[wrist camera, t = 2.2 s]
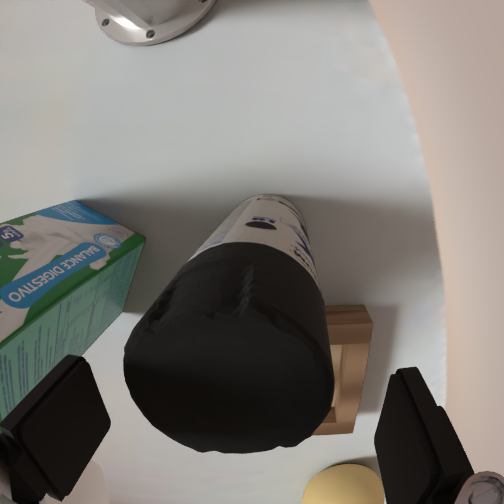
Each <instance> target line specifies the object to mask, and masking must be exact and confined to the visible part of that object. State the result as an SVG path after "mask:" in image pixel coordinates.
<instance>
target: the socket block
mask: <svg viewBox="0 0 504 504" xmlns="http://www.w3.org/2000/svg"><path fill="white" fill-rule="evenodd" d="M325 316H326V322H327V328H328V335H329V342H330V349H331V355H332V363H333V370H334V377H335V389H334V397H333V402H332V406H331V410H330V412H329V413H328V415H327V416H326V418H325V419H324V421H323V422H322V424H321V425H320V426H319V427H318V428H317V429H316V430H315V431H314V433H313V434H312V435H333V434H348V433H353V429H354V425H355V421H356V416H357V412H358V407H359V402H360V397H361V392H362V387H363V382H364V377H365V371H366V365H367V359H368V353H369V347H370V340H371V333H372V326H373V322H372V320H371V318H370V316H369V314H368V312H367V310H366V307H365V305H351V306H325ZM312 435H311V436H312Z"/></svg>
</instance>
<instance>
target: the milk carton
mask: <svg viewBox="0 0 504 504" xmlns="http://www.w3.org/2000/svg"><path fill="white" fill-rule="evenodd" d="M145 240H146V238H145V237H143V236H141V235H139V234H137V233H135V232H133V231H131V230H129V229H127V228H126V227H124V226H122V225H120V224H118V223H116V222H114V221H112V220H110V219H108V218H106V217H105V216H103V215H101V214H99V213H97V212H95V211H93V210H91V209H89V208H88V207H86V206H84V205H82V204H80V203H78V202H76V201H75V200H72V201H69V202H66V203H62V204H59V205H55V206H52V207H49V208H46V209H42V210H39V211H36V212H33V213H30V214H27V215H24V216H21V217H18V218H15V219H12V220H9V221H6V222H3V223H0V423H1V421H2V420H3V419H4V418H5V417H6V416H7V415H8V414H9V413H10V412H11V411H12V410H13V409H14V408H15V407H16V406H17V405H18V403H19V402H20V401H21V400H22V399H23V398H24V397H25V396H26V395H27V394H28V393H29V392H30V391H31V390H32V389H33V388H34V387H35V386H36V385H37V384H38V383H39V382H40V381H41V380H42V379H43V378H44V377H45V376H46V375H47V374H48V373H49V372H50V371H51V370H52V369H53V368H54V367H55V366H56V365H57V364H58V363H59V362H60V361H61V360H62V359H63V358H64V357H65V356H66V355H68V354H71V355H76V356H82V355H83V354H84V353H85V352H86V350H87V349H88V348H89V347H90V346H91V345H92V344H93V343H94V342H95V341H96V340H97V339H98V337H99V336H100V335H101V334H102V333H103V332H104V331H105V330H106V329H107V328H108V327H109V326H110V325H111V324H112V323H113V321H114V320H115V319H116V318H117V317H118V316H119V315H120V314H121V313H122V311H123V308H124V304H125V301H126V298H127V294H128V291H129V288H130V285H131V282H132V278H133V275H134V272H135V269H136V266H137V263H138V260H139V257H140V254H141V251H142V248H143V245H144V243H145ZM1 433H2V431H1V429H0V434H1Z"/></svg>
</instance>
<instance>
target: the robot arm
mask: <svg viewBox="0 0 504 504" xmlns="http://www.w3.org/2000/svg"><path fill="white" fill-rule="evenodd" d="M83 1H84V2H86V3H88V4H89V5H91V6H92V7H94V8H95V16H96V21H97V23H98V25H99V27H100V29H101V30H102V31H103V32H104V33H105V34H106V35H107V36H108V37H110V38H111V39H113V40H115V41H117V42H119V43H122V44H125V45H131V46H147V45H153V44H158V43H161V42H164V41H167V40H170V39H172V38H174V37H176V36H178V35H180V34H182V33H183V32H185V31H186V30H188V29H189V28H191V27H193V26H194V25H195V24H196V23H197V22H198V21H200V20H201V19H202V18H203V17H204V16H205V15H206V13H207V12H208V11H209V10H210V9H211V8H212V6H213V4H214V3H215V1H216V0H83ZM204 1H206V2H204ZM203 2H204V3H203ZM153 35H154V36H153ZM152 36H153V37H152ZM110 425H111V420H110V417H109V415H108V413H107V410H106V408H105V405H104V403H103V400H102V398H101V395H100V392H99V390H98V387H97V384H96V381H95V379H94V376H93V373H92V370H91V367H90V365H89V363H88V362H87V361H86V359H85V358H84V357H82V356H76V355H71V354H68V355H66V356H65V357H64V358H63V359H62V360H61V361H60V362H59V363H58V364H57V365H56V366H55V367H54V368H53V369H52V370H51V371H50V372H49V373H48V374H47V375H46V376H45V377H44V378H43V379H42V380H41V381H40V382H39V383H38V384H37V385H36V386H35V387H34V388H33V389H32V390H31V391H30V392H29V393H28V394H27V395H26V396H25V397H24V398H23V399H22V400H21V401H20V402H19V403H18V405H17V406H16V407H15V408H14V409H13V410H12V411H11V412H10V413H9V414H8V415H7V416H6V417H5V418H4V419H3V420H2V421H1V423H0V429H1V431H2V433H1V434H0V504H46V503H45V498H44V496H45V494H46V493H47V494H48V495H49V496H50V497H52V498H54V499H57V500H59V501H61V502H62V500H63V499H64V497H65V496H67V495H69V494H70V493H71V491H72V489H73V488H74V486H75V484H76V482H77V481H78V479H79V478H80V476H81V474H82V472H83V471H84V469H85V468H86V466H87V464H88V463H89V461H90V460H91V458H92V456H93V455H94V453H95V451H96V450H97V448H98V447H99V445H100V443H101V442H102V440H103V438H104V437H105V435H106V434H107V432H108V430H109V429H110ZM374 445H375V450H376V454H377V458H378V463H379V468H380V472H381V477H382V482H383V487H384V492H385V497H386V502H387V504H504V477H503V476H502V475H500V474H498V473H495V472H490V471H484V472H479V473H476V474H474V471H473V469H472V466H471V464H470V462H469V460H468V458H467V455H466V453H465V451H464V449H463V447H462V444H461V442H460V440H459V438H458V436H457V434H456V432H455V430H454V428H453V426H452V424H451V422H450V420H449V418H448V416H447V414H446V412H445V410H444V409H443V407H441V406H437V404H436V402H435V400H434V398H433V396H432V394H431V392H430V390H429V389H428V387H427V385H426V383H425V381H424V379H423V377H422V375H421V373H420V371H419V369H418V368H417V367H409V368H400V369H397V371H396V374H392V375H391V376H390V379H389V383H388V388H387V392H386V396H385V400H384V404H383V407H382V411H381V415H380V419H379V422H378V426H377V429H376V433H375V437H374Z"/></svg>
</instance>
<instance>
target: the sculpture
mask: <svg viewBox="0 0 504 504" xmlns="http://www.w3.org/2000/svg"><path fill="white" fill-rule="evenodd" d="M384 497H385V494H384V487H383V484H382V482H381V480H380V478H379V477H378V475H377V474H376V473H375V472H374V471H372V470H371V469H370V468H368V467H365V466H362V465H357V464H342V465H337V466H333V467H330V468H328V469H325V470H323V471H321V472H319V473H318V474H316V475H315V476H314V477H313V478H312V479H311V480H310V481H309V482H308V484H307V485H306V487H305V490H304V492H303V496H302V501H301V504H384Z"/></svg>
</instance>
